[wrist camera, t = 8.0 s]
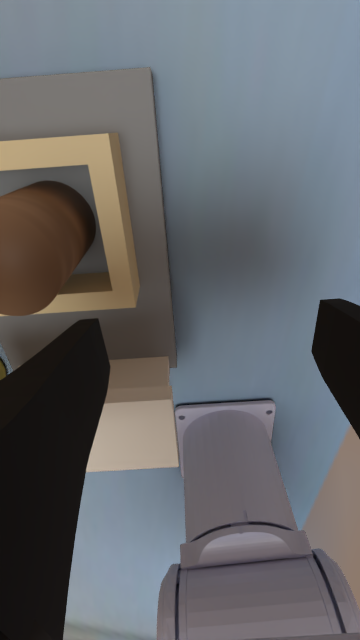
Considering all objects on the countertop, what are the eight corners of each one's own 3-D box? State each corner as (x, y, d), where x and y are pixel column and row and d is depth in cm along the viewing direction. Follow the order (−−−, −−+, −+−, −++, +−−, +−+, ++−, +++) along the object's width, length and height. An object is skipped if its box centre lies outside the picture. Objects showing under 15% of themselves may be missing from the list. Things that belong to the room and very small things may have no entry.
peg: (102, 257, 17) (72, 312, 12) (29, 262, 17) (-32, 319, 12) (87, 177, 15) (42, 203, 10) (3, 183, 15) (-83, 211, 10)
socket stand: (176, 353, 22) (178, 466, 15) (24, 363, 23) (-48, 480, 15) (152, 72, 14) (129, 9, 7) (-88, 91, 14) (-376, 49, 7)
